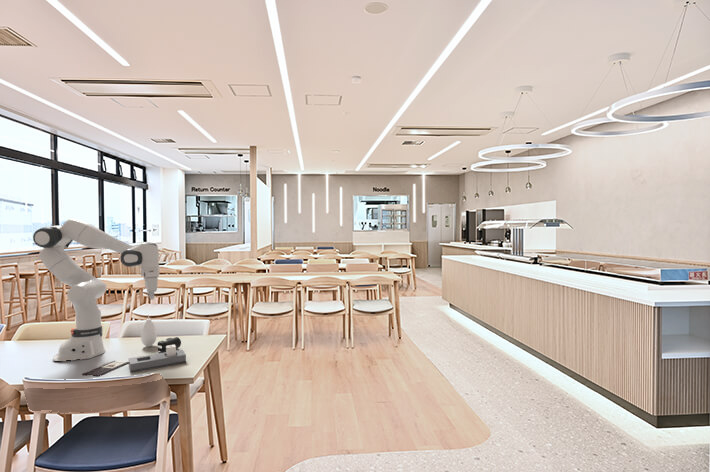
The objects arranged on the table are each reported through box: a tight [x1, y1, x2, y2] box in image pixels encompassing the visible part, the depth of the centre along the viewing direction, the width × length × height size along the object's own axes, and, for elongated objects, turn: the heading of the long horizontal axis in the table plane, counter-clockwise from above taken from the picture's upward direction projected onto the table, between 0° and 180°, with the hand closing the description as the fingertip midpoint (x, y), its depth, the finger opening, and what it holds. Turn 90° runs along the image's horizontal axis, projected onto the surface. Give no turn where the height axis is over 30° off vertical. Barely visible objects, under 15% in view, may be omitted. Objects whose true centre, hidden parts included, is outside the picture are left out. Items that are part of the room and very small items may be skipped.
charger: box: [166, 345, 177, 357], centre depth 196 cm, size 4×4×7 cm
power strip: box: [128, 349, 187, 374], centre depth 193 cm, size 24×10×4 cm, turn 124°
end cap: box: [157, 336, 182, 354], centre depth 213 cm, size 10×7×7 cm
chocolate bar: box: [81, 360, 129, 377], centre depth 188 cm, size 9×1×18 cm
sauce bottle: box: [140, 314, 158, 348], centre depth 223 cm, size 8×8×18 cm
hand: (150, 298), depth 212 cm, fingers open, 8 cm apart
